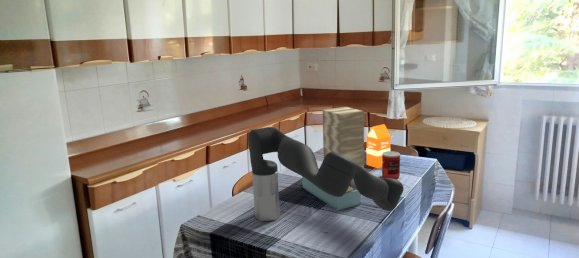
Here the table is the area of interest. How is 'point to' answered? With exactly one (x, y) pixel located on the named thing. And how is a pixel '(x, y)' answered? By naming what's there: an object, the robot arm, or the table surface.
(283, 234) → the table surface
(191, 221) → the table surface
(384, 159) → the canned food
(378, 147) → the orange juice
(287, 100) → the table surface
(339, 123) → the birch stand
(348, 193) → the open teal box
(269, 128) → the robot arm
